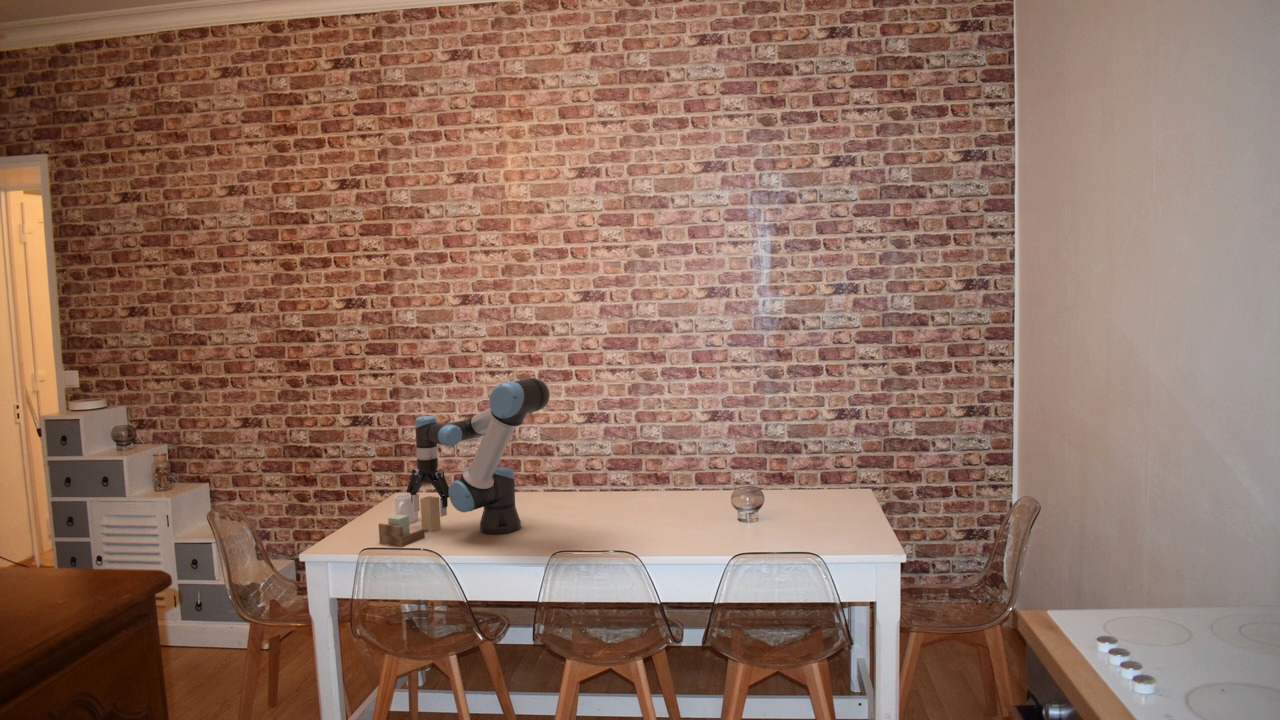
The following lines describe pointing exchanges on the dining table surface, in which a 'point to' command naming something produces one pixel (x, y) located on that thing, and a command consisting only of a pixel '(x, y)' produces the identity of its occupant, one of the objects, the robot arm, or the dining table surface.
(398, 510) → the cup
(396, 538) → the lane
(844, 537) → the dining table surface
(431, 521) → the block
